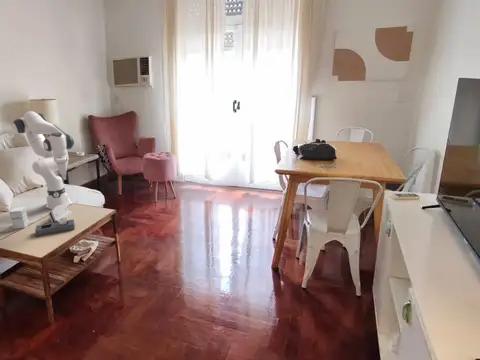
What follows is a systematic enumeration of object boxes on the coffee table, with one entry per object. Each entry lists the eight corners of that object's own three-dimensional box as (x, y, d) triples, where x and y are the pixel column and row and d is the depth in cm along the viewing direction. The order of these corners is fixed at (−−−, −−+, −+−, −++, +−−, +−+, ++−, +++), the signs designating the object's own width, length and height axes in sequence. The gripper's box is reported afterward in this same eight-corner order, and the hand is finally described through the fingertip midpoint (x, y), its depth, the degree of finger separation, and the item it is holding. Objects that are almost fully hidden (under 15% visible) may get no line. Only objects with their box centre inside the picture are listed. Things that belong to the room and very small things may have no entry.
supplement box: (13, 229, 227) (8, 211, 223) (17, 224, 234) (13, 207, 230) (25, 228, 229) (21, 210, 225) (29, 223, 236) (25, 206, 232)
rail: (37, 231, 223) (36, 225, 222) (74, 224, 232) (73, 219, 230) (36, 236, 216) (35, 231, 214) (74, 229, 224) (73, 223, 223)
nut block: (61, 228, 226) (59, 218, 224) (68, 227, 228) (66, 216, 226) (61, 230, 223) (58, 220, 221) (68, 229, 225) (66, 219, 222)
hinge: (58, 222, 235) (51, 210, 233) (53, 224, 236) (45, 212, 234) (72, 213, 251) (66, 201, 249) (67, 215, 252) (61, 203, 250)
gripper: (56, 155, 234) (60, 174, 238) (55, 161, 216) (59, 182, 220) (66, 153, 236) (70, 173, 240) (66, 160, 219) (69, 180, 223)
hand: (64, 177), depth 230 cm, fingers open, 8 cm apart
